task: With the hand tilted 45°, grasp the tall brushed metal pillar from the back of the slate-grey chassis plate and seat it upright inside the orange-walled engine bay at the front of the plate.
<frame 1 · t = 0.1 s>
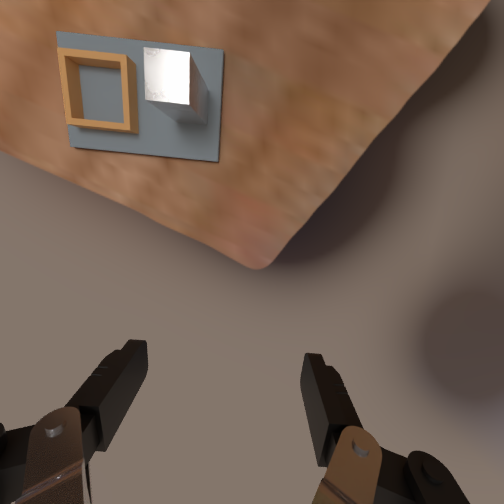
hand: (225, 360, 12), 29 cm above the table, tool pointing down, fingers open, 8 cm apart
chassis: (145, 103, 34), on the table
brushed metal pillar: (192, 106, 33), point 1 cm above the table, touching chassis
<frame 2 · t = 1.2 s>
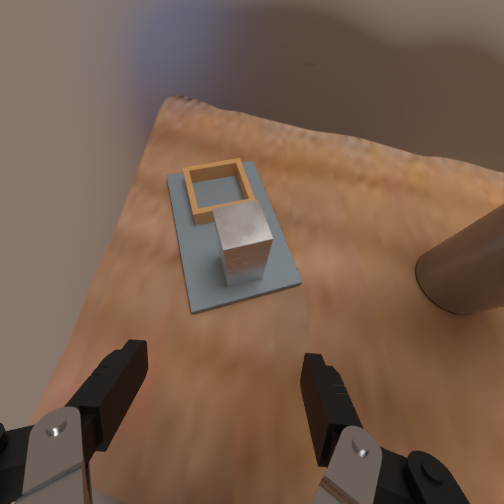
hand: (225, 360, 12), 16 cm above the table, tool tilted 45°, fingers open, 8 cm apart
chassis: (227, 226, 34), on the table
brushed metal pillar: (240, 267, 30), point 1 cm above the table, touching chassis
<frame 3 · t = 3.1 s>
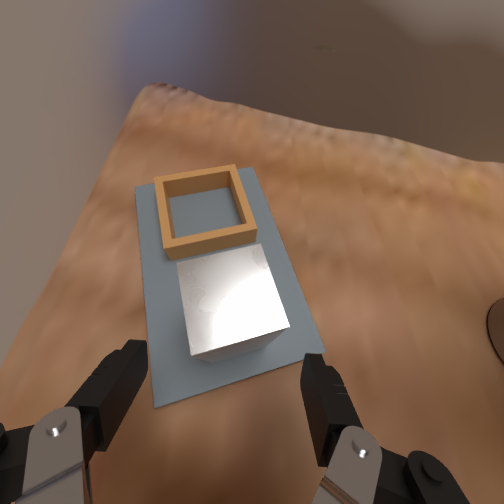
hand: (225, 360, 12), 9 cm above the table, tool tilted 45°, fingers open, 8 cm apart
chassis: (216, 261, 24), on the table
brushed metal pillar: (233, 327, 20), point 1 cm above the table, touching chassis
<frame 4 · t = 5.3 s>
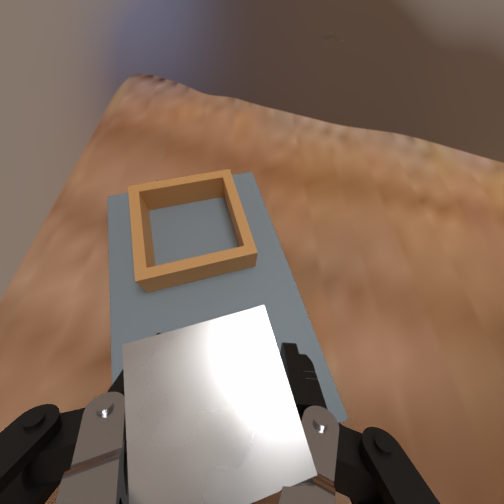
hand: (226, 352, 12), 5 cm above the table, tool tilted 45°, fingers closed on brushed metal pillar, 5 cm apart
chassis: (206, 291, 19), on the table
brushed metal pillar: (226, 385, 15), point 1 cm above the table, touching chassis, gripper
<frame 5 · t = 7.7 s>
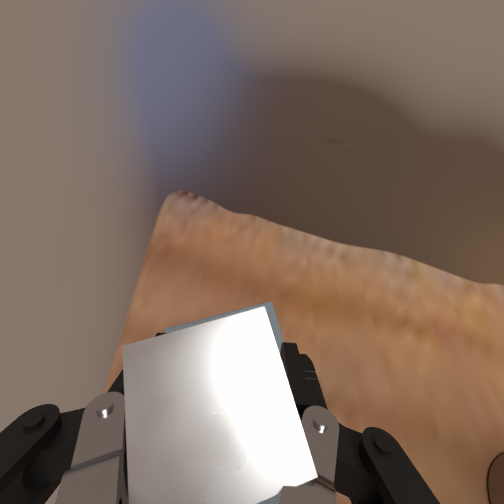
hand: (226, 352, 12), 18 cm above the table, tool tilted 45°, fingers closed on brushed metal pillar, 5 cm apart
chassis: (240, 412, 26), on the table
brushed metal pillar: (226, 386, 15), point 14 cm above the table, touching gripper
when the fingers open (7 cm above the table, at t = 10.5 s): brushed metal pillar drops 1 cm, resting on chassis.
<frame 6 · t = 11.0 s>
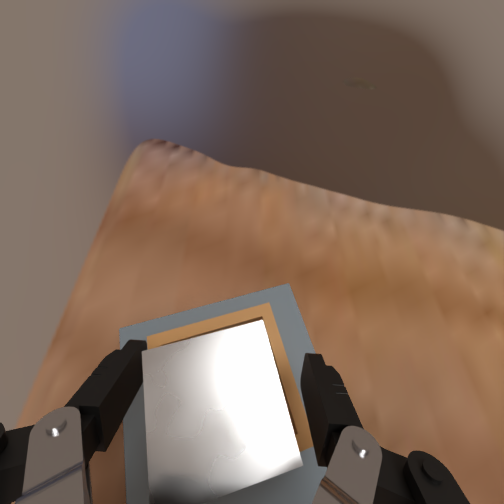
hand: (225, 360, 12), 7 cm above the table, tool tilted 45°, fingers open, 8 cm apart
chassis: (245, 467, 15), on the table
brushed metal pillar: (227, 387, 17), point 1 cm above the table, touching chassis
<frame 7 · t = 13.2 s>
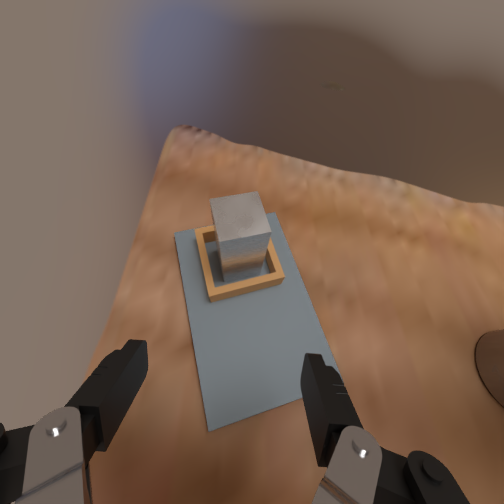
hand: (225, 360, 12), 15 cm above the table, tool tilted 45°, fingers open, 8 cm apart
chassis: (248, 300, 28), on the table
brushed metal pillar: (238, 261, 29), point 1 cm above the table, touching chassis
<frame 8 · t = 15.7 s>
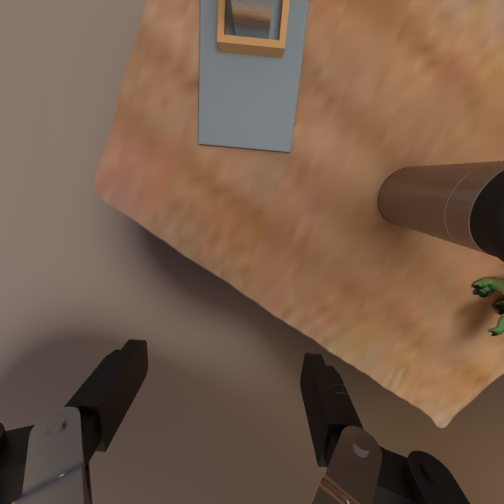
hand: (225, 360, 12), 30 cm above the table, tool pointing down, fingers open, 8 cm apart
chassis: (250, 64, 33), on the table
brushed metal pillar: (253, 16, 31), point 1 cm above the table, touching chassis
toy: (494, 283, 44), on the table
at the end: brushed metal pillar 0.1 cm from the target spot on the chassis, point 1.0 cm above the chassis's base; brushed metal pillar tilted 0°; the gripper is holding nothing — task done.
